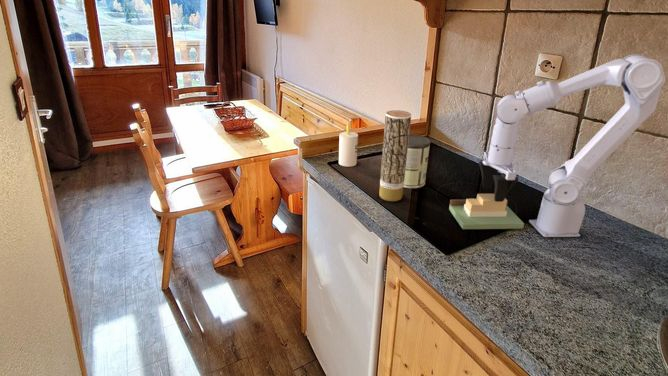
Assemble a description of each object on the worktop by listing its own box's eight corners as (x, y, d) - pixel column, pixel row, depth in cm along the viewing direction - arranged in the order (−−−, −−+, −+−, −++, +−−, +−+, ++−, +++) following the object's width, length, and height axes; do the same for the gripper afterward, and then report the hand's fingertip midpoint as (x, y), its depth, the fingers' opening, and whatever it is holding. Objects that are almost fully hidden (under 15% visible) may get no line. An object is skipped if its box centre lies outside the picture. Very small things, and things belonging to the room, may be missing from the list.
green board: (504, 208, 114) (506, 199, 113) (523, 228, 104) (525, 218, 103) (448, 209, 113) (450, 199, 111) (462, 229, 103) (464, 219, 102)
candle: (351, 168, 138) (353, 125, 132) (335, 164, 141) (336, 122, 135) (360, 162, 143) (362, 121, 137) (344, 158, 146) (345, 118, 140)
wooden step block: (499, 208, 110) (502, 193, 108) (506, 216, 106) (509, 200, 104) (463, 208, 110) (466, 193, 108) (469, 216, 106) (472, 200, 104)
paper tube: (403, 202, 115) (413, 117, 105) (379, 202, 115) (387, 116, 105) (400, 192, 122) (409, 110, 111) (377, 191, 122) (384, 109, 111)
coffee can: (392, 174, 134) (395, 133, 128) (423, 176, 133) (428, 135, 127) (393, 187, 125) (397, 144, 119) (426, 189, 124) (432, 146, 118)
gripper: (475, 135, 106) (467, 182, 112) (499, 155, 93) (489, 207, 99) (501, 135, 107) (492, 182, 113) (529, 155, 94) (517, 207, 99)
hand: (492, 194), depth 106 cm, fingers open, 7 cm apart
